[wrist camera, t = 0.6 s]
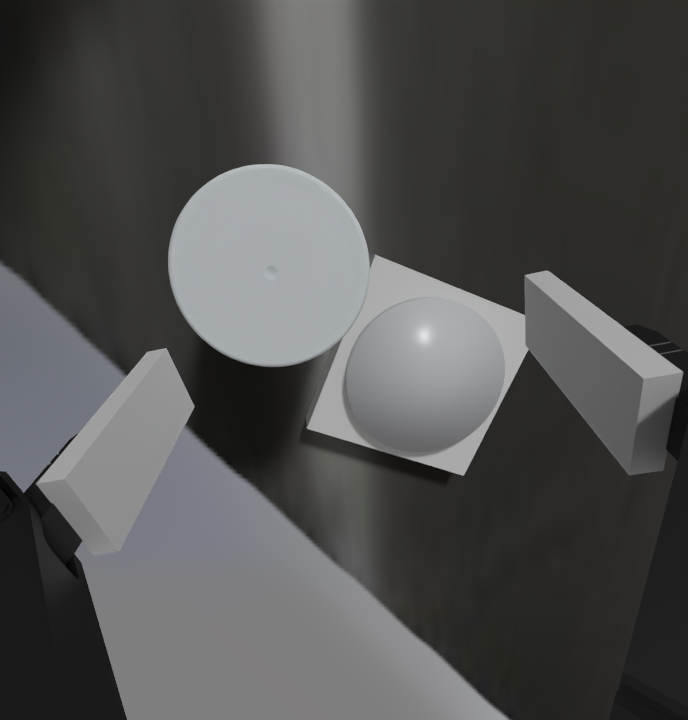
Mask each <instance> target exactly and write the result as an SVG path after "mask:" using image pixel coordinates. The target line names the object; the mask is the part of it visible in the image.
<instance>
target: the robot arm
mask: <svg viewBox="0 0 688 720" xmlns="http://www.w3.org/2000/svg"><path fill="white" fill-rule="evenodd" d="M525 345H526V346H527V348H528V349H529V350H530V352H531V353H532V354H533V355H534V357H535V358H536V359H537V360H538V362H539V363H540V364H541V365H542V367H543V368H544V369H545V370H546V372H547V373H548V374H549V375H550V377H551V378H552V379H553V380H554V382H555V383H556V384H557V385H558V387H559V388H560V389H561V390H562V392H563V393H564V394H565V395H566V397H567V398H568V399H569V400H570V402H571V403H572V404H573V406H574V407H575V408H576V409H577V411H578V412H579V413H580V414H581V416H582V417H583V418H584V419H585V421H586V422H587V423H588V424H589V426H590V427H591V428H592V429H593V431H594V432H595V433H596V434H597V436H598V437H599V438H600V439H601V441H602V442H603V443H604V444H605V446H606V447H607V448H608V449H609V451H610V452H611V453H612V454H613V456H614V457H615V458H616V460H617V461H618V462H619V463H620V465H621V466H622V467H623V468H624V470H625V471H626V472H627V473H628V475H635V474H642V473H649V472H655V471H662V470H664V465H665V460H666V455H667V451H668V452H669V453H670V454H671V455H672V456H673V457H674V458H675V459H676V460H677V461H678V463H677V466H676V470H675V474H674V478H673V482H672V486H671V489H670V493H669V497H668V501H667V505H666V509H665V512H664V516H663V520H662V524H661V528H660V532H659V536H658V539H657V543H656V547H655V551H654V555H653V559H652V562H651V566H650V570H649V574H648V578H647V582H646V585H645V589H644V593H643V597H642V601H641V605H640V609H639V612H638V616H637V620H636V624H635V628H634V632H633V635H632V639H631V643H630V647H629V651H628V655H627V659H626V662H625V666H624V670H623V674H622V678H621V681H620V685H619V688H618V690H617V693H616V696H615V700H614V703H613V707H612V711H611V715H610V718H609V720H688V353H687V352H686V351H682V350H681V348H680V347H679V346H677V345H676V344H674V343H670V340H668V339H667V338H665V337H664V336H662V335H661V334H660V333H658V332H657V331H654V330H651V329H648V328H645V327H642V326H639V325H632V326H626V327H623V326H621V325H620V324H619V323H617V322H616V321H615V320H613V319H612V318H611V317H609V316H608V315H607V314H605V313H604V312H603V311H601V310H600V309H598V308H597V307H596V306H594V305H593V304H592V303H590V302H589V301H588V300H586V299H585V298H584V297H582V296H581V295H580V294H578V293H577V292H576V291H574V290H573V289H572V288H570V287H569V286H568V285H566V284H565V283H564V282H562V281H561V280H560V279H558V278H557V277H556V276H554V275H553V274H552V273H550V272H549V271H543V272H538V273H533V274H528V275H525ZM194 407H195V406H194V404H193V402H192V400H191V398H190V396H189V394H188V392H187V390H186V388H185V386H184V384H183V382H182V380H181V377H180V375H179V373H178V371H177V369H176V367H175V365H174V363H173V361H172V359H171V357H170V355H169V353H168V351H167V349H166V348H165V349H160V350H155V351H150V352H147V353H146V354H145V355H144V357H143V358H142V359H141V360H140V361H139V362H138V364H137V365H136V366H135V367H134V368H133V370H132V371H131V372H130V373H129V374H128V375H127V377H126V378H125V379H124V380H123V381H122V383H121V384H120V385H119V386H118V387H117V389H116V390H115V391H114V392H113V393H112V394H111V396H110V397H109V398H108V399H107V400H106V402H105V403H104V404H103V405H102V406H101V407H100V409H99V410H98V411H97V412H96V413H95V415H94V416H93V417H92V418H91V419H90V420H89V422H88V423H87V424H86V425H85V426H84V428H83V429H82V430H81V431H80V432H79V433H78V434H76V435H75V436H74V437H73V438H71V439H70V440H69V441H68V442H67V443H66V445H65V446H64V447H63V448H62V449H61V450H60V452H59V454H58V455H56V456H55V457H54V459H53V460H52V461H51V464H50V465H48V466H47V467H46V468H45V469H44V470H43V471H42V473H41V474H40V475H39V476H38V477H37V478H36V480H35V481H34V482H33V483H32V484H31V486H30V487H29V488H28V489H27V490H26V491H25V492H24V493H23V492H22V491H21V489H20V488H19V487H18V486H17V485H16V483H15V482H14V481H13V480H12V479H11V477H10V476H9V475H8V474H7V473H6V472H1V471H0V720H127V718H126V715H125V712H124V708H123V705H122V701H121V698H120V694H119V691H118V687H117V684H116V681H115V677H114V674H113V671H112V667H111V664H110V660H109V657H108V653H107V650H106V646H105V643H104V639H103V636H102V633H101V629H100V626H99V622H98V619H97V615H96V612H95V608H94V605H93V601H92V598H91V595H90V592H89V588H88V584H87V581H86V578H85V574H84V571H83V567H82V564H81V562H80V561H79V559H78V558H77V557H76V556H75V554H74V553H75V552H76V550H77V548H78V547H79V545H80V543H81V542H83V543H84V545H85V546H86V547H87V549H88V550H89V551H90V552H91V554H92V555H100V554H108V553H115V552H119V551H120V549H121V547H122V545H123V543H124V541H125V540H126V537H127V536H128V534H129V532H130V530H131V528H132V526H133V524H134V522H135V520H136V518H137V516H138V515H139V513H140V511H141V509H142V507H143V505H144V503H145V501H146V499H147V497H148V495H149V493H150V491H151V489H152V488H153V486H154V484H155V482H156V480H157V478H158V476H159V474H160V472H161V470H162V468H163V467H164V464H165V463H166V461H167V459H168V457H169V455H170V453H171V451H172V449H173V447H174V445H175V444H176V441H177V439H178V438H179V436H180V434H181V432H182V430H183V428H184V426H185V424H186V422H187V421H188V419H189V417H190V415H191V413H192V411H193V409H194Z"/></svg>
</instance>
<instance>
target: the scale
mask: <svg viewBox="0 0 688 720" xmlns="http://www.w3.org/2000/svg"><path fill="white" fill-rule="evenodd" d="M369 261H370V278H369V286H368V291H367V295H366V299H365V302H364V305H363V308H362V310H361V312H360V314H359V316H358V318H357V319H356V321H355V323H354V324H353V326H352V327H351V329H350V330H349V331H348V332H347V334H346V335H345V336H344V337H343V338H342V339H341V340H340V341H339V342H338V343H337V344H336V345H334V346H333V348H332V351H331V353H330V356H329V358H328V361H327V363H326V366H325V369H324V371H323V374H322V376H321V379H320V381H319V384H318V386H317V389H316V392H315V394H314V397H313V399H312V402H311V404H310V407H309V409H308V412H307V415H306V425H307V429H309V430H313V431H316V432H319V433H323V434H326V435H329V436H333V437H336V438H339V439H343V440H346V441H349V442H353V443H354V444H357V445H360V446H363V447H367V448H370V449H373V450H377V451H380V452H383V453H387V454H390V455H393V456H397V457H400V458H403V459H407V460H410V461H414V462H419V463H423V464H426V465H429V466H433V467H436V468H439V469H443V470H446V471H450V472H453V473H456V474H460V475H463V476H464V474H465V472H466V470H467V468H468V466H469V464H470V462H471V460H472V458H473V456H474V455H475V453H476V451H477V449H478V447H479V445H480V443H481V441H482V439H483V437H484V435H485V433H486V431H487V429H488V427H489V425H490V423H491V421H492V419H493V417H494V415H495V414H496V412H497V410H498V408H499V406H500V404H501V402H502V400H503V398H504V396H505V394H506V392H507V390H508V388H509V386H510V384H511V382H512V380H513V378H514V376H515V374H516V372H517V371H518V369H519V367H520V365H521V363H522V361H523V359H524V357H525V355H526V353H527V351H528V348H527V346H526V345H525V315H523V314H520V313H518V312H515V311H513V310H510V309H508V308H505V307H503V306H500V305H498V304H496V303H493V302H491V301H488V300H486V299H483V298H481V297H478V296H476V295H473V294H471V293H468V292H466V291H463V290H461V289H458V288H456V287H454V286H451V285H449V284H446V283H444V282H441V281H439V280H436V279H434V278H431V277H429V276H426V275H424V274H421V273H419V272H416V271H414V270H411V269H409V268H407V267H404V266H402V265H399V264H397V263H394V262H392V261H389V260H387V259H384V258H382V257H379V256H377V255H374V254H371V253H370V254H369Z"/></svg>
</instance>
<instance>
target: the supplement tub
mask: <svg viewBox="0 0 688 720" xmlns="http://www.w3.org/2000/svg"><path fill="white" fill-rule="evenodd" d="M168 270H169V278H170V283H171V288H172V291H173V294H174V297H175V300H176V302H177V305H178V307H179V309H180V311H181V312H182V314H183V316H184V317H185V319H186V320H187V322H188V323H189V325H190V326H191V327H192V328H193V330H194V331H195V332H196V333H197V334H198V335H199V336H200V337H201V338H202V339H203V340H204V341H205V342H207V343H208V344H209V345H210V346H212V347H213V348H214V349H216V350H217V351H219V352H220V353H222V354H224V355H226V356H228V357H230V358H232V359H235V360H238V361H240V362H243V363H247V364H250V365H256V366H264V367H283V366H290V365H295V364H299V363H303V362H306V361H308V360H310V359H313V358H315V357H317V356H319V355H321V354H323V353H325V352H326V351H328V350H329V349H331V348H332V347H333V346H334V345H336V344H337V343H338V342H339V341H340V340H341V339H342V338H343V337H344V336H345V335H346V334H347V332H348V331H349V330H350V329H351V327H352V326H353V324H354V323H355V321H356V319H357V318H358V316H359V314H360V312H361V310H362V308H363V305H364V302H365V299H366V295H367V291H368V286H369V278H370V261H369V253H368V249H367V244H366V241H365V238H364V235H363V232H362V229H361V227H360V225H359V223H358V221H357V219H356V217H355V216H354V214H353V212H352V211H351V210H350V208H349V207H348V205H347V204H346V203H345V202H344V201H343V200H342V198H341V197H340V196H339V195H338V194H337V193H336V192H335V191H333V190H332V189H331V188H330V187H329V186H328V185H326V184H325V183H323V182H322V181H320V180H319V179H317V178H315V177H313V176H311V175H309V174H307V173H305V172H303V171H300V170H298V169H295V168H291V167H287V166H283V165H275V164H258V165H249V166H244V167H240V168H236V169H233V170H230V171H228V172H226V173H223V174H221V175H219V176H217V177H216V178H214V179H213V180H211V181H209V182H208V183H207V184H205V185H204V186H203V187H202V188H201V189H199V190H198V191H197V192H196V193H195V194H194V195H193V196H192V198H191V199H190V200H189V201H188V203H187V204H186V206H185V207H184V208H183V210H182V212H181V213H180V215H179V217H178V219H177V221H176V223H175V226H174V229H173V232H172V236H171V240H170V245H169V253H168Z"/></svg>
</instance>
